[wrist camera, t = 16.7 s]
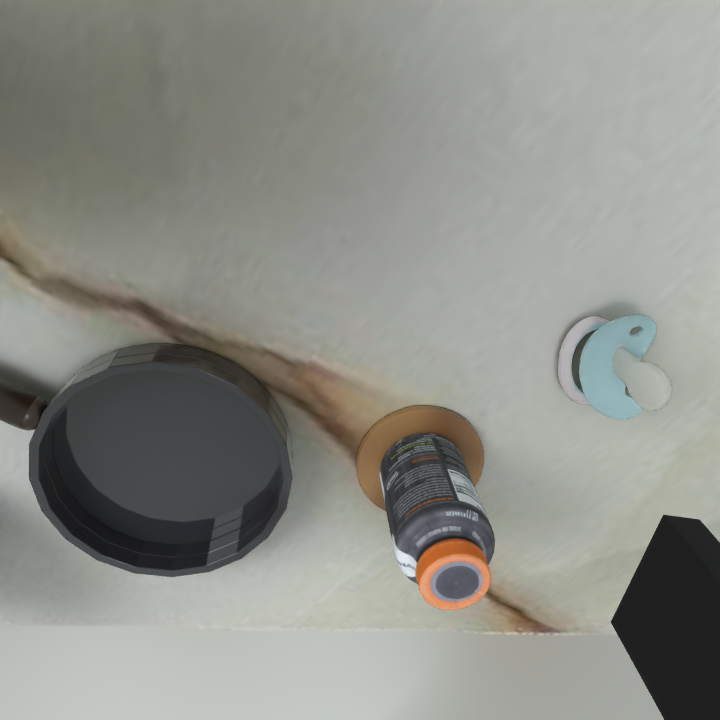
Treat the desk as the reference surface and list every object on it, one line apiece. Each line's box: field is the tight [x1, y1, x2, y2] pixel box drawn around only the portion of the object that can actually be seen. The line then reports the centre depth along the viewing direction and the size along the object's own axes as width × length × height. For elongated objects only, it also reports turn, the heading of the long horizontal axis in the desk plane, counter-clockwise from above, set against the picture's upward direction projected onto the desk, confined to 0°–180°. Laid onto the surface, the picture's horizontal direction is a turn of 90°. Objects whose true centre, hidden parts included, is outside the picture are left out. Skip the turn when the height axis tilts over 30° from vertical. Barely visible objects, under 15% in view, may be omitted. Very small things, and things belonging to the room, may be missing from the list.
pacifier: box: [558, 315, 672, 419], centre depth 40 cm, size 7×6×6 cm
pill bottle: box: [380, 433, 495, 610], centre depth 40 cm, size 6×6×11 cm
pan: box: [29, 343, 293, 577], centre depth 42 cm, size 16×16×3 cm
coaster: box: [356, 406, 484, 511], centre depth 45 cm, size 9×9×1 cm
